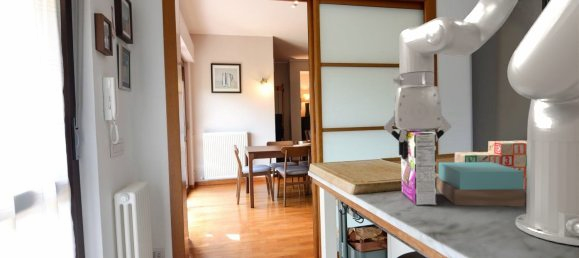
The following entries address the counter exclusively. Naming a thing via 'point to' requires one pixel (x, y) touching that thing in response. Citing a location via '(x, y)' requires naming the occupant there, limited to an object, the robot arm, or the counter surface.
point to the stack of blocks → (500, 156)
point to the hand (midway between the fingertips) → (417, 157)
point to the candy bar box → (419, 167)
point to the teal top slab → (481, 176)
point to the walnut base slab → (480, 195)
